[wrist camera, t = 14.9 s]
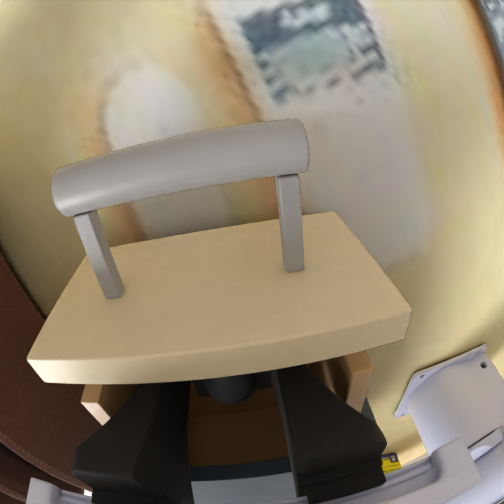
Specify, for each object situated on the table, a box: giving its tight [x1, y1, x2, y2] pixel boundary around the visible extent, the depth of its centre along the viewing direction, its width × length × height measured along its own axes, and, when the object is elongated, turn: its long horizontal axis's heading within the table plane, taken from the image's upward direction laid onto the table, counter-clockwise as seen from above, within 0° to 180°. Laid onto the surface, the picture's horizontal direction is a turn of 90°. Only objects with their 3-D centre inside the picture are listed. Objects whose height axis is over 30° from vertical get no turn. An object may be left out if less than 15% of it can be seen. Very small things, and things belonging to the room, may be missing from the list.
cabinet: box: [190, 397, 385, 504], centre depth 18 cm, size 15×13×9 cm
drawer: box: [27, 119, 412, 467], centre depth 12 cm, size 18×11×7 cm, turn 7°
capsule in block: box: [192, 371, 272, 405], centre depth 13 cm, size 4×6×3 cm, turn 7°
